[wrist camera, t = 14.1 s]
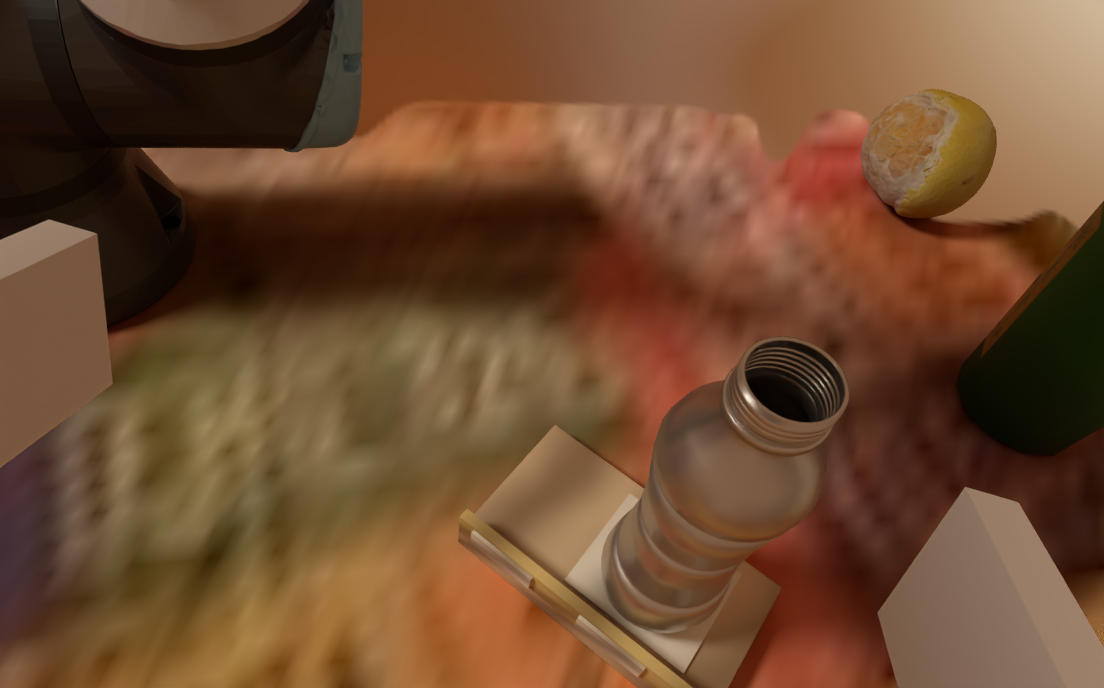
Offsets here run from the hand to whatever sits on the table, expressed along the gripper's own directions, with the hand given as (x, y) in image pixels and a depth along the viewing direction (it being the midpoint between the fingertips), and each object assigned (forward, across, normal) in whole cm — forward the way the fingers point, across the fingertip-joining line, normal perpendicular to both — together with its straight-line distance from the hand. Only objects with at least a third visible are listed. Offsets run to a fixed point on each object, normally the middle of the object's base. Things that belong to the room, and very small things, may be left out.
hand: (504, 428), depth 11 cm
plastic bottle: (+20, +8, -23) cm, 32 cm away
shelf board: (+21, +6, -24) cm, 33 cm away
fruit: (+59, +24, -8) cm, 64 cm away
